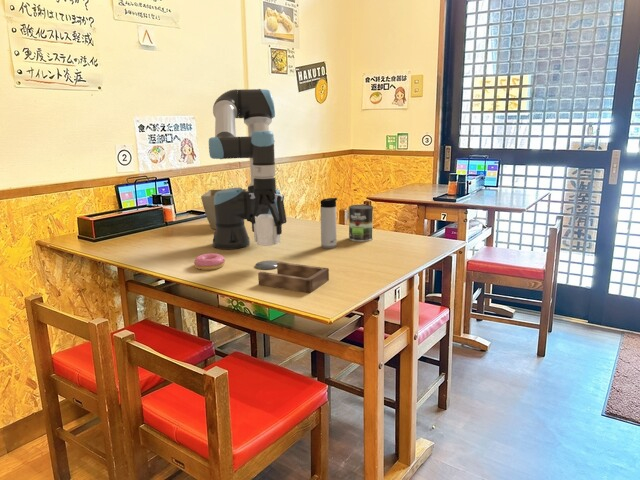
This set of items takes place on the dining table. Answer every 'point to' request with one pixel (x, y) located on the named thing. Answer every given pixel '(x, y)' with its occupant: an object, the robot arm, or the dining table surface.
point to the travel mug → (328, 223)
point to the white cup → (265, 229)
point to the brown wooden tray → (295, 277)
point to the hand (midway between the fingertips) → (267, 242)
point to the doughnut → (209, 261)
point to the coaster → (267, 265)
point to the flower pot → (211, 206)
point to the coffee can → (360, 223)
